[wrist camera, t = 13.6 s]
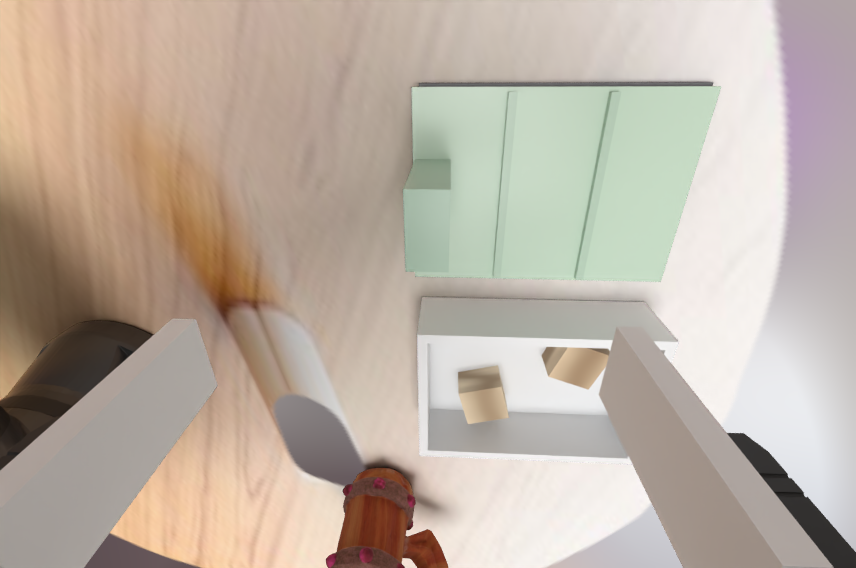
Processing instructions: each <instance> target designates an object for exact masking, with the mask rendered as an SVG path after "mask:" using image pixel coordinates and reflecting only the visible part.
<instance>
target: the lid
mask: <svg viewBox="0 0 856 568" xmlns="http://www.w3.org/2000/svg"><path fill="white" fill-rule="evenodd" d="M720 89H721V86H545V87H412V137H413V167H412V169H411V171H410V174H409V176H408V178H407V181H406V183H405V186H404V188H403V207H404V237H405V268H406V272H415V277H454V278H503V279H552V280H601V281H649V282H661V279H662V276H663V273H664V270H665V266H666V263H667V260H668V257H669V253H670V250H671V247H672V244H673V241H674V237H675V234H676V231H677V228H678V225H679V221H680V218H681V215H682V212H683V208H684V205H685V202H686V199H687V196H688V192H689V189H690V186H691V183H692V179H693V176H694V173H695V170H696V167H697V163H698V160H699V157H700V154H701V150H702V147H703V144H704V141H705V138H706V134H707V131H708V128H709V125H710V121H711V118H712V115H713V112H714V109H715V105H716V102H717V99H718V96H719V93H720Z"/></svg>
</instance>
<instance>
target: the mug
mask: <svg viewBox="0 0 856 568" xmlns="http://www.w3.org/2000/svg"><path fill="white" fill-rule="evenodd" d="M343 493H344V495H345V496H346V497H345V500H344V505H343V508H344V512H345V518H344V522H343V527H342V531H341V535H340V539H339V543H338V548H337V552H336V553H334V554H331V555H329V556H328V557H327V558H326V565H327V567H328V568H405V567H404V566H403V565H402V564H401V563H402V558H410V559H411V560H412V561H413V562H414V564H415V565H416V566H417V568H448V564H447V561H446V559H445V556H444V554H443V551H442V549H441V547H440V545H439V543H438V541H437V539H436V538H435V536H434V535H433V533H432V531H430V530H428V529H427V530H425V531H422V532H419V533H417V534H414V535H411V536H408V537H407V536H406V530H410V529H411V528H412V527H413V520H412V518H413V512H414V505H415V504H416V502H415V498H414V497H413V491H412V487H411V485H410V483H409V481H408V480H406V478H405V477H404V476H403V475H402V474H401V473H399V472H397V471H396V470H392V469H390V468H374V469H368V470H365V471H363V472H361V473H359V474H358V475H357V477H356V479H355V481H354V482H353V484H350V485H347V486H345V487H344V489H343Z"/></svg>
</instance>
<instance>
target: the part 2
mask: <svg viewBox="0 0 856 568" xmlns="http://www.w3.org/2000/svg"><path fill="white" fill-rule="evenodd" d="M609 353H610V351H609V349H607V348H571V347H546V349H545V351H544V352H543V354H542V355H541V356H542V359H543V362H544V365H545V368H546V371H547V374H548V377H551V378H554V379H557V380H560V381H563V382H566V383H569V384H572V385H575V386H578V387H582V388H585V389H588V390H589V388H590V387H591V386H592V384H593V383H594V382H595V380H596V379H597V378H598V376H599V375H600V374H601V372H602V371H603V370H604V368H605V367H606V365H607V361H608V357H609Z"/></svg>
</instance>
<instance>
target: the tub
mask: <svg viewBox="0 0 856 568" xmlns="http://www.w3.org/2000/svg"><path fill="white" fill-rule="evenodd" d="M616 327H643V329H644V330H645V331H646V332H647V334H648V335H649V336H650V337H651V339H652V340H653V341H654V342H655V344H656V345H657V346H658V347H659V349H660V350H661V351H662V353H663V354H664V355H665V356H666V358H667V359H668V360H669V361H670V363H672V360H673V358H674V355H675V352H676V350H677V347H678V344H679V341H678V340H677V339H676V338H675V337H674V335H673V334H672V333H671V332H670V331H669V330H668V328H667V327H666V326H665V325H664V324H663V323H662V321H661V320H660V319H659V318H658V317H657V316H656V314H655V313H654V312H653V311H652V310H651V309H650V307H649V306H648V305H647V304H646V303H645V302H624V301H581V300H537V299H493V298H450V297H422V301H421V309H420V316H419V324H418V332H417V355H418V407H419V456H435V457H459V458H483V459H507V460H531V461H555V462H579V463H603V464H627V465H633V464H632V462H631V460H630V458H629V456H628V454H627V452H626V450H625V448H624V446H623V443H622V441H621V439H620V437H619V435H618V433H617V431H616V429H615V427H614V425H613V423H612V421H611V419H610V417H609V415H608V413H607V411H606V409H605V407H604V405H603V403H602V400H601V398H600V396H599V391H600V387H601V384H602V380H603V376H604V372H605V369H606V367H605V368H604V370H603V371H602V372H601V374H600V375H599V376H598V378H597V379H596V380H595V382H594V383H593V384H592V386H591V387H590V388H589V390H588V389H585V388H582V387H578V386H575V385H572V384H569V383H566V382H563V381H560V380H557V379H554V378H551V377H548V374H547V371H546V368H545V365H544V362H543V359H542V356H541V355H542V354H543V352H544V351H545V349H546V347H571V348H607V349H609V351H610V350H611V346H612V342H613V338H614V335H615V331H616ZM497 365H498V368H499V372H500V376H501V380H502V384H503V389H504V393H505V398H506V404H507V409H508V415H509V418H505V419H498V420H492V421H485V422H479V423H472V424H468V423H467V420H466V417H465V413H464V410H463V407H462V404H461V400H460V397H459V394H458V372H462V371H468V370H474V369H480V368H485V367H491V366H497Z"/></svg>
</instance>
